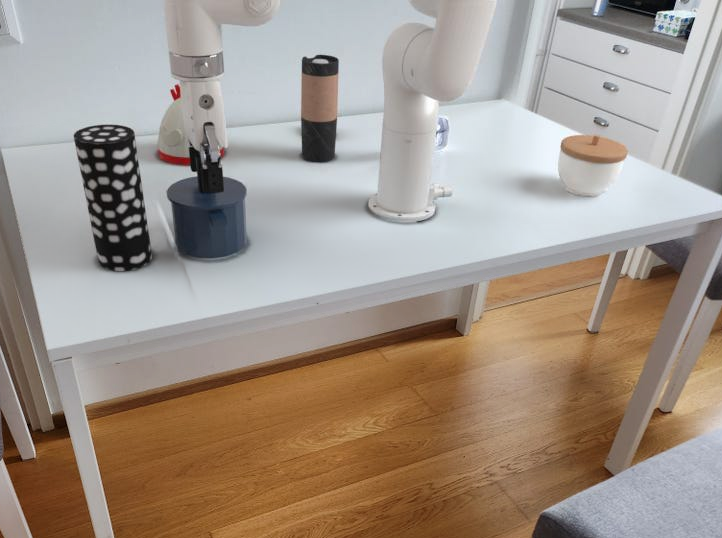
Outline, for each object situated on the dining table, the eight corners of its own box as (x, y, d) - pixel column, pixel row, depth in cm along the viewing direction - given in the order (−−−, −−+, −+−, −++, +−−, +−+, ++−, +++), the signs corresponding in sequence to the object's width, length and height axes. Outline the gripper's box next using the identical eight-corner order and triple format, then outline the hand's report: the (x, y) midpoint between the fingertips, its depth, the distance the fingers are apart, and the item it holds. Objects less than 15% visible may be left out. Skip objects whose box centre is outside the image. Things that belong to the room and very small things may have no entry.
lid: (236, 178, 115) (233, 139, 111) (255, 208, 105) (254, 167, 101) (161, 186, 111) (156, 146, 107) (175, 218, 102) (170, 175, 98)
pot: (233, 219, 121) (230, 170, 116) (258, 263, 109) (256, 211, 103) (168, 227, 118) (162, 177, 112) (187, 273, 105) (181, 220, 100)
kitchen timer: (194, 170, 139) (187, 94, 130) (145, 155, 144) (135, 82, 135) (236, 151, 149) (232, 79, 140) (188, 138, 154) (182, 68, 145)
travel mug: (331, 164, 144) (335, 65, 132) (297, 160, 145) (297, 61, 133) (338, 152, 150) (342, 56, 138) (305, 148, 151) (306, 53, 139)
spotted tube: (156, 246, 112) (139, 125, 100) (146, 271, 105) (127, 144, 93) (105, 245, 112) (82, 123, 99) (92, 270, 105) (66, 143, 93)
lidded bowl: (560, 173, 145) (573, 121, 138) (620, 186, 140) (637, 133, 133) (543, 192, 136) (556, 137, 129) (606, 207, 131) (623, 151, 125)
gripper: (237, 78, 91) (244, 200, 101) (210, 49, 104) (218, 159, 114) (181, 82, 89) (194, 206, 99) (160, 51, 101) (173, 164, 112)
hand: (207, 180), depth 107 cm, fingers open, 8 cm apart
